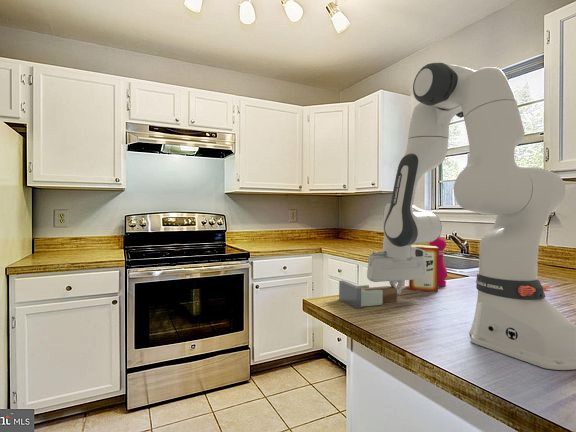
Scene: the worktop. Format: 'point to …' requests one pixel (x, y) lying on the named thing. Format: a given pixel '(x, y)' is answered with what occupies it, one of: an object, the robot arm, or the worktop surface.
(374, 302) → the block
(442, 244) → the pepper mill
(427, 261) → the baking soda box
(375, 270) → the robot arm
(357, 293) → the grey upright slab
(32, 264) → the worktop surface
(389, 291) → the brown wooden block
